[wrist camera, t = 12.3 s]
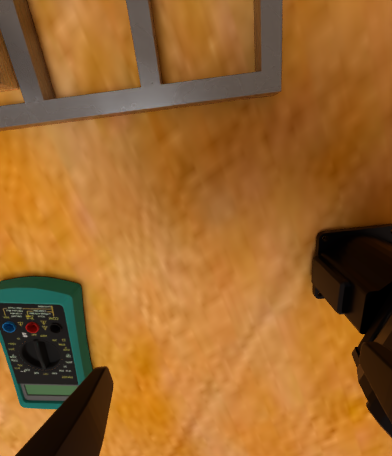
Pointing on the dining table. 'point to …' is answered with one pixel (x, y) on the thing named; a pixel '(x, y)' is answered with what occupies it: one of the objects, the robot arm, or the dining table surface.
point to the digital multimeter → (44, 339)
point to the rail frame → (147, 67)
